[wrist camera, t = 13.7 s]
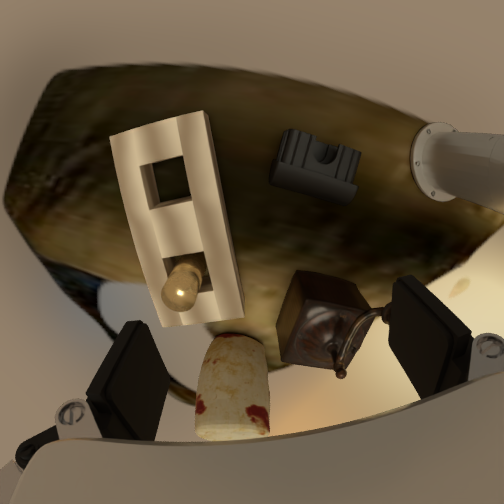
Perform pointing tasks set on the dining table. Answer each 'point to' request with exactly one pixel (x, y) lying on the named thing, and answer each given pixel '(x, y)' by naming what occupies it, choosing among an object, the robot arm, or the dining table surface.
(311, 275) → the manual coffee grinder
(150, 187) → the board
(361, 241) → the dining table surface
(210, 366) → the food model
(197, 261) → the pin
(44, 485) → the robot arm
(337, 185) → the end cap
